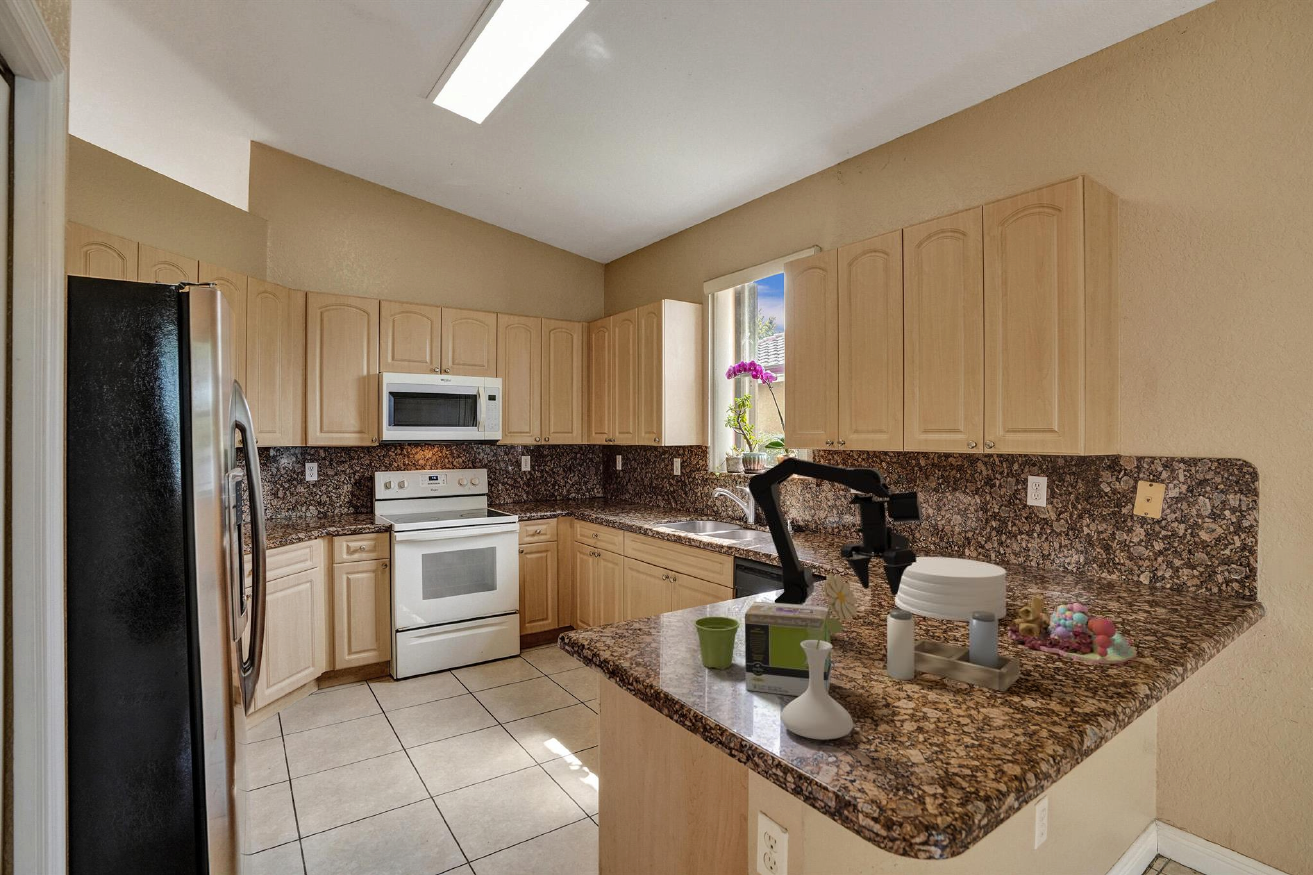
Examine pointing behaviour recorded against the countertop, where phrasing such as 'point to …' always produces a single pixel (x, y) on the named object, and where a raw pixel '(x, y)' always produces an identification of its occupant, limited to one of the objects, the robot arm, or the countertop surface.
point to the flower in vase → (822, 674)
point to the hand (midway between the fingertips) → (880, 591)
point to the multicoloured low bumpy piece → (1070, 633)
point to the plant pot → (716, 640)
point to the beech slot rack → (963, 665)
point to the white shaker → (900, 644)
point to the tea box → (782, 646)
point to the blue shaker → (983, 639)
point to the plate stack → (952, 588)
